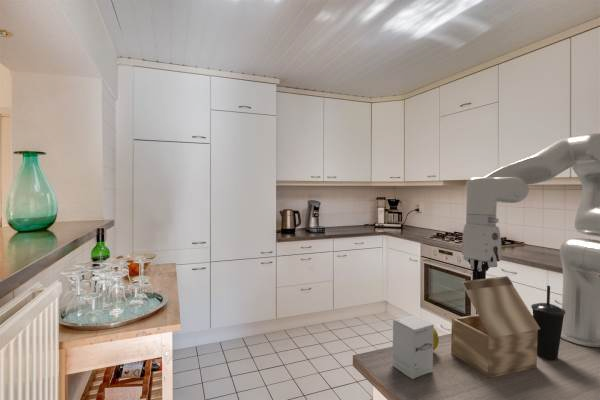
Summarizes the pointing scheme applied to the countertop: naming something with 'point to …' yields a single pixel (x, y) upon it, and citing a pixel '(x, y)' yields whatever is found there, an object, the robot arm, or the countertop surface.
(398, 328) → the supplement box
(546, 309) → the drinking cup
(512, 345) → the light brown boxy piece
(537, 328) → the lid flap
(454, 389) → the countertop surface
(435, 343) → the lemon
